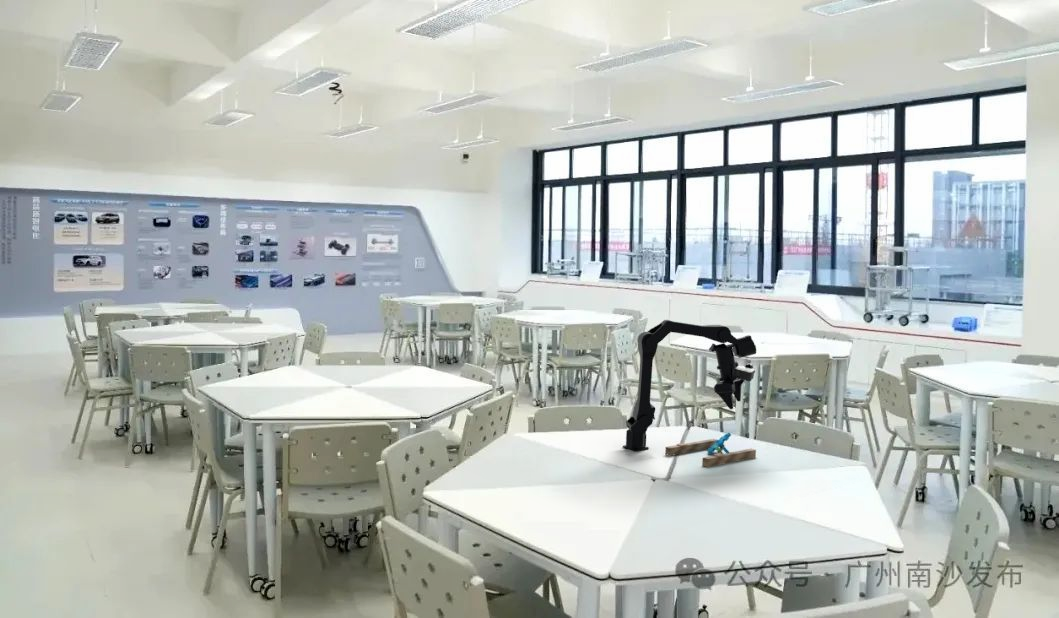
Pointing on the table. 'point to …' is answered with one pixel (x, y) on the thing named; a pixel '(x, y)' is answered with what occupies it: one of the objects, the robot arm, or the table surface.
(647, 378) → the robot arm
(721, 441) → the gear
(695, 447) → the guide channel
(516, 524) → the table surface
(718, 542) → the table surface
